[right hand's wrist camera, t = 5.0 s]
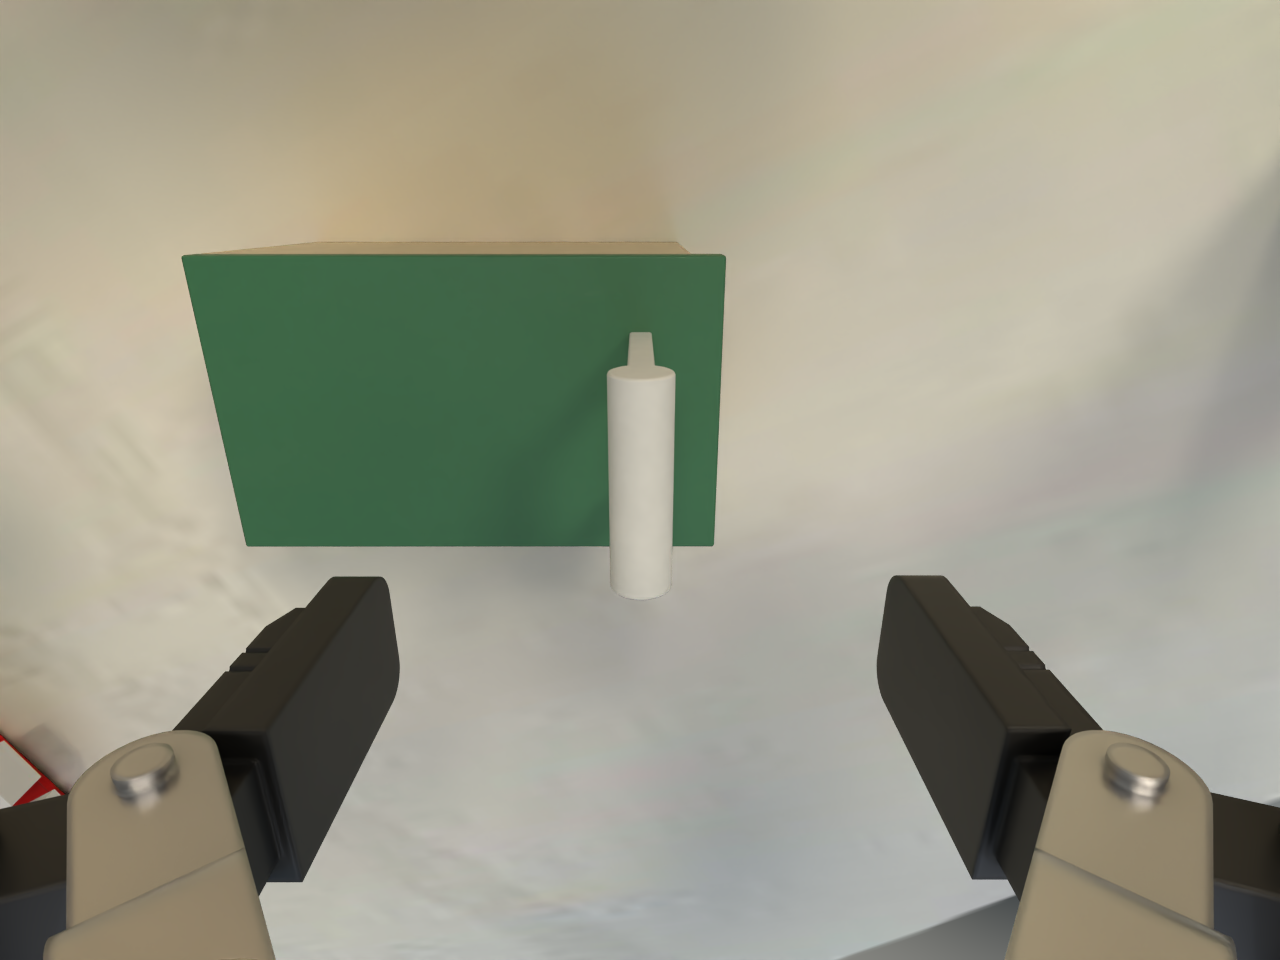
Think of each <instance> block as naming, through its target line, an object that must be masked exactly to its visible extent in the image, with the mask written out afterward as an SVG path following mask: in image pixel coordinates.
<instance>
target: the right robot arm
mask: <svg viewBox="0 0 1280 960" xmlns="http://www.w3.org/2000/svg"><path fill="white" fill-rule="evenodd" d="M399 673H400V663H399V654H398V647H397V641H396V634H395V627H394V620H393V614H392V607H391V600H390V593H389V588H388V585H387V583H386V581H385V579H384V578H383V577H332V578H330V579H329V580H328V582H327V583H326V584H325V585H324V586H323V587H322V589H321V590H320V591H319V592H318V593H317V595H316V596H315V597H314V598H313V599H312V601H311V602H310V603H309V604H308V605H307V606H306V608H295V609H293V610H292V611H290V612H289V613H287V614H285V615H284V616H282V617H280V618H279V619H277V620H276V621H274V622H272V623H271V624H269V625H267V626H266V627H265V628H264V629H263V630H262V631H261V632H260V634H259V635H258V636H257V637H256V638H255V639H254V640H253V641H252V642H251V644H250V645H249V646H248V647H247V648H246V653H242V654H241V655H240V656H239V657H238V658H237V659H236V660H235V661H234V662H233V664H232V665H231V666H230V670H229V672H224V674H223V675H222V676H221V677H220V678H219V679H218V680H217V681H216V682H215V684H214V685H213V686H212V687H211V688H210V689H209V690H208V691H207V692H206V694H205V695H204V696H203V697H202V698H201V699H200V700H199V701H198V703H197V704H196V705H195V706H194V707H193V708H192V709H191V710H190V711H189V713H188V714H187V715H186V716H185V717H184V718H183V719H182V720H181V721H180V723H179V724H178V725H177V726H176V727H175V728H174V729H173V730H172V731H168V732H162V733H158V734H154V735H150V736H147V737H144V738H141V739H138V740H136V741H133V742H131V743H129V744H126V745H124V746H122V747H120V748H118V749H116V750H115V751H113V752H111V753H110V754H108V755H106V756H105V757H103V758H102V759H100V760H99V761H98V762H96V763H95V764H94V765H92V766H91V767H90V768H89V769H88V770H87V771H85V772H84V774H83V775H82V776H81V777H80V778H79V779H78V780H77V782H76V783H75V784H74V786H73V787H72V789H71V791H70V793H69V794H65V795H61V796H56V797H52V798H47V799H43V800H38V801H34V802H29V803H25V804H20V805H16V806H11V807H7V808H2V809H0V960H276V959H275V955H274V951H273V948H272V944H271V940H270V937H269V933H268V929H267V926H266V922H265V918H264V915H263V911H262V907H261V904H260V900H259V895H260V893H261V891H262V890H263V888H264V886H265V884H266V882H303V880H304V878H305V876H306V874H307V872H308V870H309V868H310V866H311V864H312V862H313V860H314V858H315V856H316V854H317V852H318V850H319V848H320V846H321V844H322V842H323V840H324V838H325V836H326V834H327V832H328V830H329V828H330V826H331V824H332V822H333V820H334V818H335V816H336V814H337V812H338V810H339V808H340V806H341V804H342V802H343V800H344V798H345V796H346V794H347V792H348V790H349V788H350V786H351V784H352V782H353V780H354V778H355V776H356V774H357V772H358V770H359V768H360V766H361V764H362V762H363V760H364V758H365V756H366V755H367V753H368V751H369V749H370V747H371V745H372V743H373V741H374V739H375V737H376V735H377V733H378V731H379V729H380V727H381V725H382V723H383V721H384V719H385V717H386V715H387V713H388V711H389V709H390V707H391V705H392V703H393V701H394V698H395V695H396V692H397V688H398V682H399ZM877 678H878V685H879V689H880V693H881V696H882V698H883V701H884V703H885V705H886V707H887V709H888V711H889V713H890V715H891V717H892V719H893V721H894V723H895V725H896V727H897V729H898V731H899V733H900V735H901V737H902V739H903V741H904V743H905V745H906V747H907V749H908V751H909V753H910V755H911V757H912V759H913V761H914V763H915V765H916V767H917V769H918V771H919V773H920V775H921V777H922V779H923V781H924V783H925V785H926V787H927V789H928V791H929V793H930V795H931V797H932V799H933V801H934V803H935V806H936V808H937V810H938V812H939V814H940V816H941V818H942V820H943V822H944V824H945V826H946V828H947V830H948V832H949V834H950V836H951V838H952V840H953V842H954V844H955V846H956V848H957V850H958V852H959V854H960V856H961V858H962V860H963V862H964V864H965V866H966V868H967V870H968V872H969V874H970V876H971V878H972V879H1008V881H1009V883H1010V885H1011V887H1012V888H1013V890H1014V892H1015V894H1016V896H1017V897H1018V899H1019V901H1020V904H1019V907H1018V911H1017V915H1016V918H1015V922H1014V926H1013V929H1012V933H1011V937H1010V940H1009V944H1008V948H1007V951H1006V955H1005V959H1004V960H1280V808H1278V807H1274V806H1270V805H1265V804H1260V803H1256V802H1251V801H1247V800H1242V799H1238V798H1233V797H1229V796H1224V795H1220V794H1215V793H1211V792H1210V791H1209V789H1208V787H1207V786H1206V784H1205V783H1204V782H1203V780H1202V779H1201V778H1200V777H1199V776H1198V775H1197V774H1196V772H1195V771H1193V770H1192V769H1191V768H1190V767H1189V766H1188V765H1186V764H1185V763H1184V762H1182V761H1181V760H1180V759H1178V758H1177V757H1175V756H1174V755H1172V754H1170V753H1169V752H1167V751H1165V750H1164V749H1162V748H1160V747H1158V746H1156V745H1154V744H1151V743H1149V742H1147V741H1144V740H1142V739H1139V738H1136V737H1133V736H1130V735H1126V734H1122V733H1118V732H1112V731H1105V730H1103V729H1102V728H1101V727H1100V726H1099V725H1098V724H1097V723H1096V722H1095V720H1094V719H1093V718H1092V717H1091V716H1090V715H1089V714H1088V713H1087V711H1086V710H1085V709H1084V708H1083V707H1082V706H1081V705H1080V704H1079V702H1078V701H1077V700H1076V699H1075V698H1074V697H1073V696H1072V695H1071V694H1070V692H1069V691H1068V690H1067V689H1066V688H1065V687H1064V686H1063V685H1062V683H1061V682H1060V681H1059V680H1058V679H1057V678H1056V677H1055V676H1054V674H1053V673H1052V672H1051V671H1050V670H1046V669H1045V664H1044V663H1043V662H1042V661H1041V660H1040V659H1039V658H1038V656H1037V655H1036V654H1035V653H1034V652H1033V651H1029V646H1028V645H1027V644H1026V643H1025V642H1024V641H1023V640H1022V638H1021V637H1020V636H1019V635H1018V634H1017V633H1016V632H1015V631H1014V630H1013V628H1012V627H1011V626H1010V625H1009V624H1007V623H1005V622H1004V621H1002V620H1001V619H999V618H997V617H996V616H994V615H992V614H991V613H989V612H988V611H986V610H984V609H983V608H981V607H970V606H969V605H968V603H967V602H966V601H965V600H964V599H963V597H962V596H961V595H960V594H959V593H958V591H957V590H956V589H955V588H954V587H953V585H952V584H951V583H950V582H949V581H948V579H947V578H946V577H944V576H893V577H892V578H891V580H890V582H889V584H888V588H887V594H886V601H885V607H884V614H883V621H882V628H881V635H880V642H879V649H878V655H877Z"/></svg>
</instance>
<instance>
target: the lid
mask: <svg viewBox="0 0 1280 960" xmlns="http://www.w3.org/2000/svg"><path fill="white" fill-rule="evenodd" d="M182 262H183V267H184V271H185V275H186V280H187V284H188V289H189V293H190V298H191V302H192V306H193V311H194V315H195V320H196V324H197V329H198V333H199V337H200V342H201V346H202V351H203V355H204V359H205V364H206V368H207V373H208V377H209V382H210V386H211V390H212V395H213V399H214V404H215V408H216V413H217V417H218V421H219V426H220V430H221V435H222V439H223V444H224V448H225V452H226V457H227V461H228V466H229V470H230V475H231V479H232V483H233V488H234V492H235V497H236V501H237V506H238V510H239V514H240V519H241V523H242V528H243V532H244V536H245V541H246V545H247V546H610V583H611V587H612V589H613V591H614V592H615V593H616V594H618V595H620V596H622V597H624V598H628V599H633V600H650V599H654V598H658V597H660V596H663V595H664V594H666V593H667V592H668V591H669V589H670V588H671V585H672V546H713V545H714V529H715V505H716V482H717V458H718V435H719V411H720V387H721V364H722V340H723V317H724V293H725V270H726V257H725V256H724V255H722V254H193V255H184V256H182Z"/></svg>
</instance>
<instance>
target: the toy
mask: <svg viewBox="0 0 1280 960" xmlns="http://www.w3.org/2000/svg"><path fill="white" fill-rule="evenodd" d="M61 795H65V794H64V793H63V792H62V791H61V790H60V789H59V788H58V787H56V786H55V785H54V784H53V783H52V782H51V781H50V780H49V779H48V778H47V777H46V776H45V775H43V774H42V773H41V772H40V771H39V770H38V769H37V768H36V767H35V766H34V765H33V764H32V763H30V762H29V761H28V760H27V759H26V758H25V757H24V756H23V755H22V754H21V753H20V752H19V751H18V750H16V749H15V748H14V747H13V746H12V745H11V744H10V743H9V742H8V741H7V740H6V739H5V738H3V737H2V736H1V735H0V809H2V808H7V807H11V806H16V805H20V804H25V803H29V802H34V801H38V800H43V799H47V798H52V797H56V796H61Z"/></svg>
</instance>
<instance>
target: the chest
mask: <svg viewBox="0 0 1280 960" xmlns="http://www.w3.org/2000/svg"><path fill="white" fill-rule="evenodd" d="M203 254H690V253H689V252H688V251H687V250H686V249H684V248H683V247H682V246H681V245H680V244H679V243H677V242H313V243H304V244H293V245H283V246H273V247H263V248H253V249H243V250H233V251H223V252H213V253H203Z"/></svg>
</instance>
